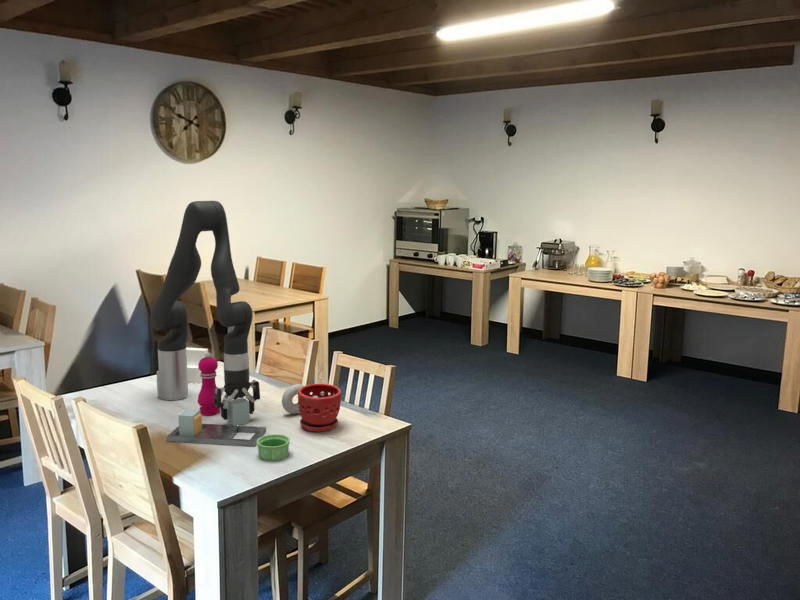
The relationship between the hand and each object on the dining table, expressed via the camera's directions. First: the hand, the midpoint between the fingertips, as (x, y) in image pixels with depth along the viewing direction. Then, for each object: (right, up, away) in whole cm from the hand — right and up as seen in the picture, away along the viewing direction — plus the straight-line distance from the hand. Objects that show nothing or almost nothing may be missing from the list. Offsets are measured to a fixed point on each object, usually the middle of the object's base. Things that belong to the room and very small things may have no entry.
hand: (238, 416), depth 204 cm
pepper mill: (-11, 0, +8) cm, 14 cm away
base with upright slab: (-26, +6, +42) cm, 49 cm away
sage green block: (-11, -4, -10) cm, 16 cm away
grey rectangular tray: (-3, -4, -11) cm, 12 cm away
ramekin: (+16, -7, -23) cm, 29 cm away
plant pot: (+26, -3, -2) cm, 26 cm away
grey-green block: (0, -2, 0) cm, 2 cm away
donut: (+17, -1, +9) cm, 19 cm away
